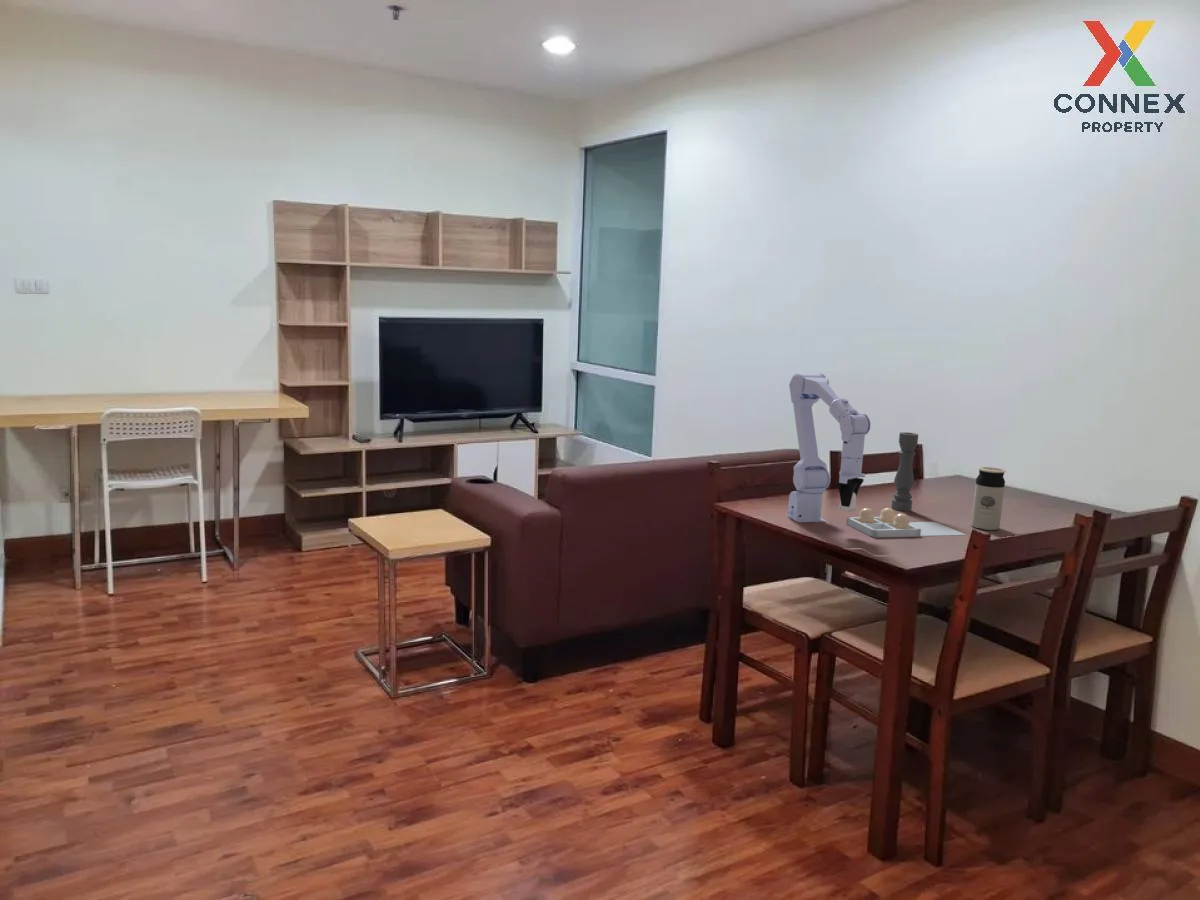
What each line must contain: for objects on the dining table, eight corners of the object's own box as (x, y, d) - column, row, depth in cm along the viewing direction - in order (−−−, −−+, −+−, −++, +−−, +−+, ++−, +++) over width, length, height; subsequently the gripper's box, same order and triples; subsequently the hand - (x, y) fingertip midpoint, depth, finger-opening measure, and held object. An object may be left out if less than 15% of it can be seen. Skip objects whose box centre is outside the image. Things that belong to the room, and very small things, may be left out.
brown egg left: (862, 529, 262) (864, 509, 261) (855, 525, 266) (857, 506, 265) (875, 528, 263) (877, 509, 262) (868, 525, 267) (869, 506, 266)
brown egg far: (884, 528, 264) (886, 509, 263) (876, 524, 268) (878, 506, 267) (897, 528, 265) (898, 509, 264) (889, 524, 269) (891, 506, 268)
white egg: (844, 511, 252) (846, 491, 251) (836, 508, 256) (838, 488, 255) (857, 511, 253) (859, 491, 252) (850, 507, 257) (852, 488, 256)
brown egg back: (897, 534, 257) (899, 515, 256) (889, 531, 261) (891, 511, 260) (910, 534, 258) (912, 515, 257) (902, 530, 262) (904, 511, 261)
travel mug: (975, 522, 278) (982, 465, 275) (1002, 527, 274) (1009, 469, 271) (967, 527, 272) (974, 468, 269) (994, 532, 267) (1001, 472, 264)
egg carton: (873, 539, 253) (873, 530, 253) (846, 525, 267) (846, 517, 267) (966, 536, 261) (966, 528, 260) (934, 523, 275) (935, 515, 274)
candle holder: (907, 508, 295) (914, 432, 290) (914, 512, 289) (922, 435, 284) (888, 507, 294) (895, 431, 290) (895, 512, 288) (902, 434, 284)
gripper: (859, 462, 244) (854, 511, 246) (873, 455, 256) (868, 502, 259) (833, 459, 248) (829, 507, 250) (848, 452, 260) (844, 498, 262)
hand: (847, 504), depth 254 cm, fingers closed on white egg, 4 cm apart
